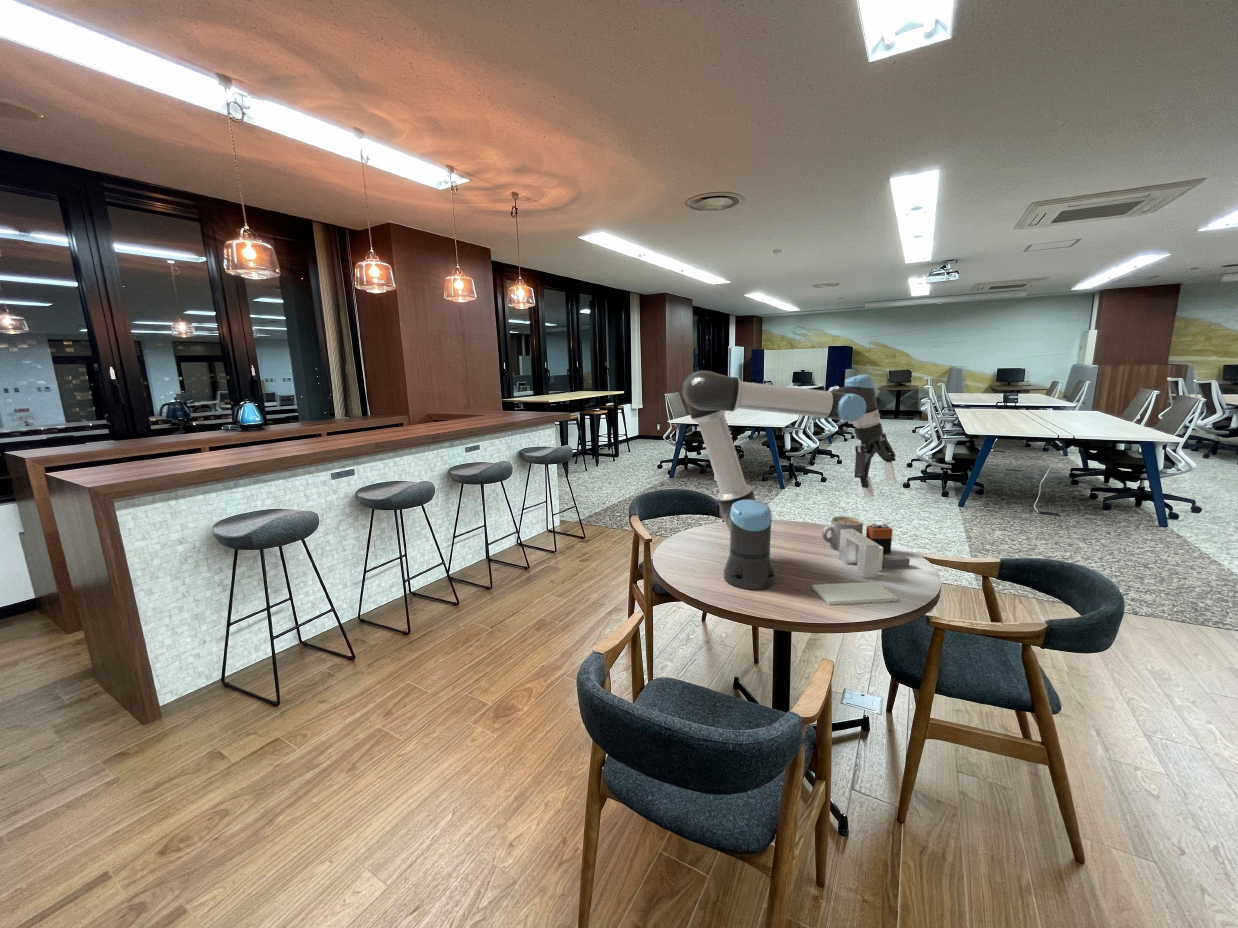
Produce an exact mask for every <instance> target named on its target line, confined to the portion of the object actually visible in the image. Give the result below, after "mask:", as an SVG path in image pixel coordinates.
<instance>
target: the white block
mask: <svg viewBox="0 0 1238 928" xmlns="http://www.w3.org/2000/svg"><path fill="white" fill-rule="evenodd" d="M910 561H911V559H910V557H909V558H908V557H907V556H905V555H903V554H901V555H884V554H883V547H881V546H879V558H878V570H877V572H881V571H882V570H891V569H892V570H895V569H909V568H910Z"/></svg>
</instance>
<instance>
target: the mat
mask: <svg viewBox="0 0 1238 928" xmlns="http://www.w3.org/2000/svg"><path fill="white" fill-rule="evenodd" d="M811 589H812V590H814V592H815V593H817V594H818V596H820V598H821V599H823V601H825V603H827V604H828V605H847V604H848V605H849V604H850V605H851V604H867V603H870V602H872V603H889V602H890V601H893V602H898V600H899V599H898V597H897V596H896V595H894V593H892V592H890V591H889V590H888V589H887V588H885V587H884V586H883V585H881V584H880V583H878V582H877V581H865V582H848V583H847V582H846V583H845V582H843V583H824V584H822V583H821V584H812V585H811ZM870 604H871V603H870Z"/></svg>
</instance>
